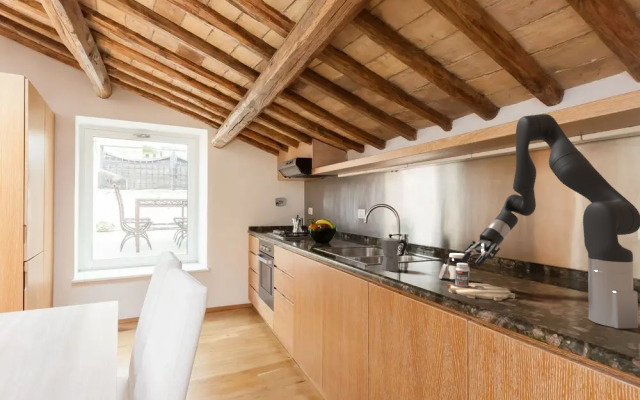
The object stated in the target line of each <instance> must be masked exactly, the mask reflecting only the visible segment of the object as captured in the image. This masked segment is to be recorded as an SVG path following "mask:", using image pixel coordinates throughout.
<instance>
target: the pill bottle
mask: <svg viewBox="0 0 640 400" xmlns="http://www.w3.org/2000/svg"><path fill="white" fill-rule="evenodd" d="M467 268H468V264H466V263H457V268H456V277H455V282H454V284H456V285H457V286H462V287H467V286H469V283H470V282H469V281H470V269H469V270H468V269H467Z"/></svg>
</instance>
